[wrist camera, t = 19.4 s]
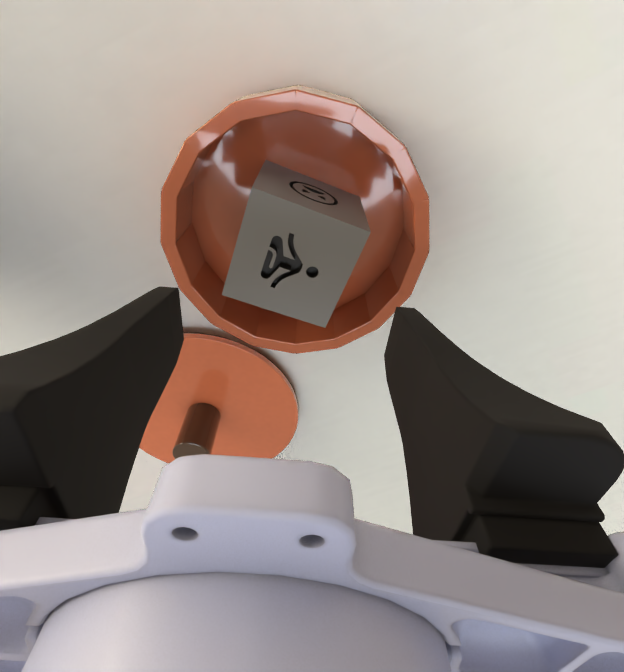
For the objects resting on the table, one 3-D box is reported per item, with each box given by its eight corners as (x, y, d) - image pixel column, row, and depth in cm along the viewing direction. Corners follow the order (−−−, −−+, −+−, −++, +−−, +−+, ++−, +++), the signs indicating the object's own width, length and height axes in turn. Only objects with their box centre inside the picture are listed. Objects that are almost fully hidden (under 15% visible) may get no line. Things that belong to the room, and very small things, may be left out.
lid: (88, 417, 30) (54, 470, 26) (157, 290, 24) (126, 335, 20) (242, 480, 35) (232, 534, 31) (335, 387, 28) (338, 439, 24)
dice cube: (265, 159, 19) (251, 187, 15) (359, 196, 20) (370, 232, 16) (239, 250, 22) (221, 294, 18) (323, 279, 23) (325, 327, 19)
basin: (144, 248, 22) (120, 275, 20) (258, 17, 17) (246, 9, 14) (323, 350, 26) (323, 385, 24) (464, 195, 21) (488, 216, 18)
